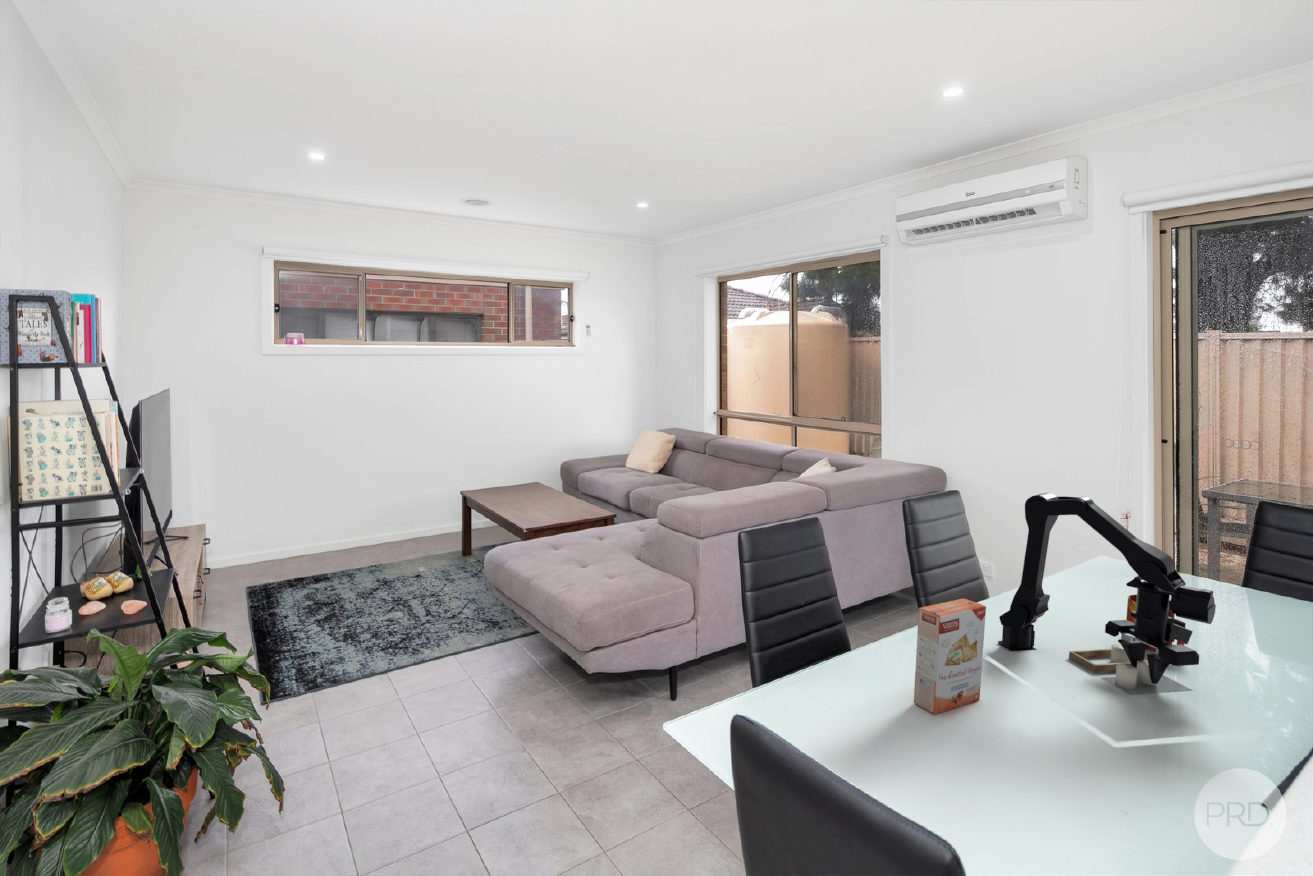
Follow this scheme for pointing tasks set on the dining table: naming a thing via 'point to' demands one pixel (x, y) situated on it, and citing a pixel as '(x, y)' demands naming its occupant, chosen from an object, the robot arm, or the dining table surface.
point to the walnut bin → (1096, 668)
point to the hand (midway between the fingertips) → (1146, 679)
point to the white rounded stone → (1126, 676)
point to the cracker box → (949, 654)
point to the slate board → (1152, 686)
